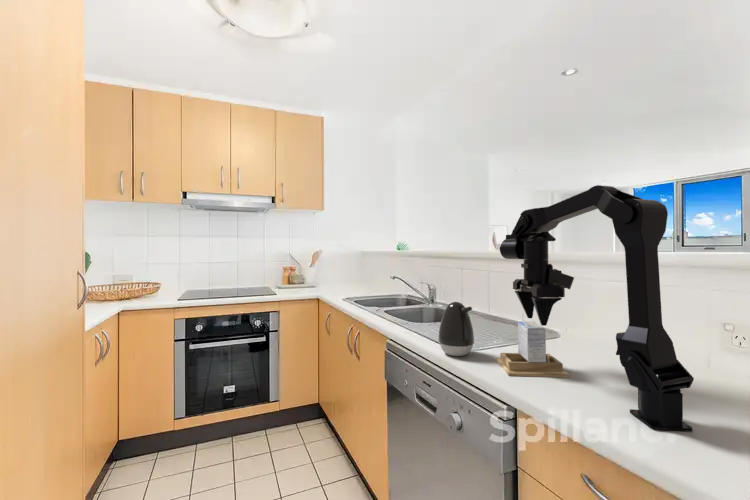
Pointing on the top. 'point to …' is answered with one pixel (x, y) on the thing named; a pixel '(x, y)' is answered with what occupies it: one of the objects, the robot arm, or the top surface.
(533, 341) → the medicine box
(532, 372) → the box
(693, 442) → the top surface
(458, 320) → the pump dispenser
